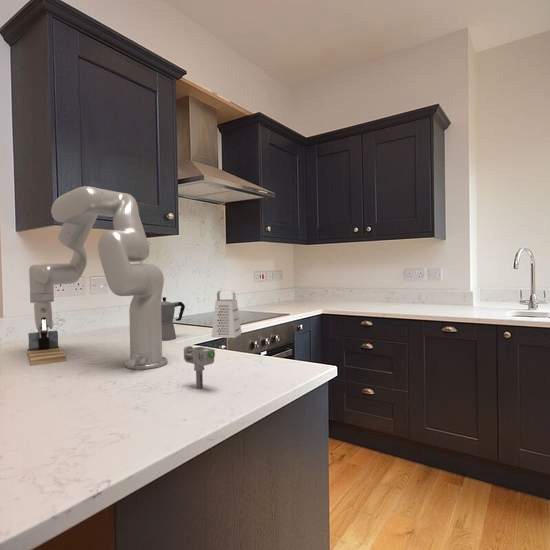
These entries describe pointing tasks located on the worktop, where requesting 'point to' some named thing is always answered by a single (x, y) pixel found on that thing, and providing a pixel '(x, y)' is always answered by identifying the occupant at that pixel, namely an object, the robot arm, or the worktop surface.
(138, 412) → the worktop surface
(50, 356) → the pine board
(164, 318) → the coffeepot
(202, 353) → the mechanical component
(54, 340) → the sanding block
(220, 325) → the grater
